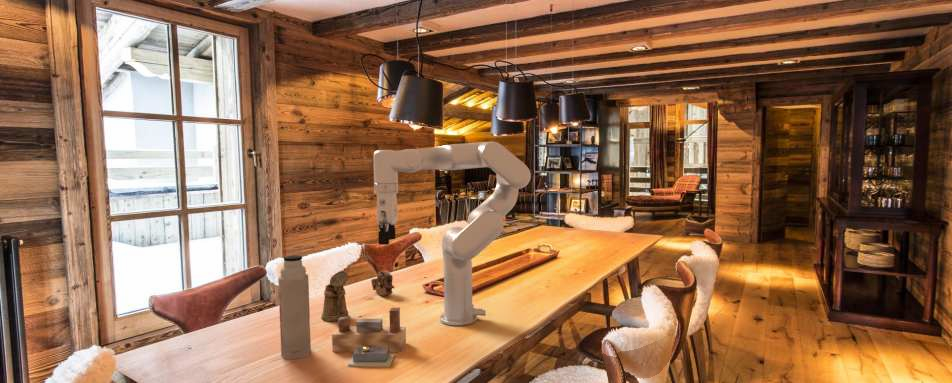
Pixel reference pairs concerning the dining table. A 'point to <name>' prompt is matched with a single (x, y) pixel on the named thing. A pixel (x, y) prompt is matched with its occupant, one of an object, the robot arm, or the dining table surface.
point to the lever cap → (371, 354)
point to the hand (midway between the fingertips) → (387, 241)
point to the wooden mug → (335, 298)
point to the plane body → (369, 334)
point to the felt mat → (372, 363)
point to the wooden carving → (383, 283)
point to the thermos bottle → (294, 309)
